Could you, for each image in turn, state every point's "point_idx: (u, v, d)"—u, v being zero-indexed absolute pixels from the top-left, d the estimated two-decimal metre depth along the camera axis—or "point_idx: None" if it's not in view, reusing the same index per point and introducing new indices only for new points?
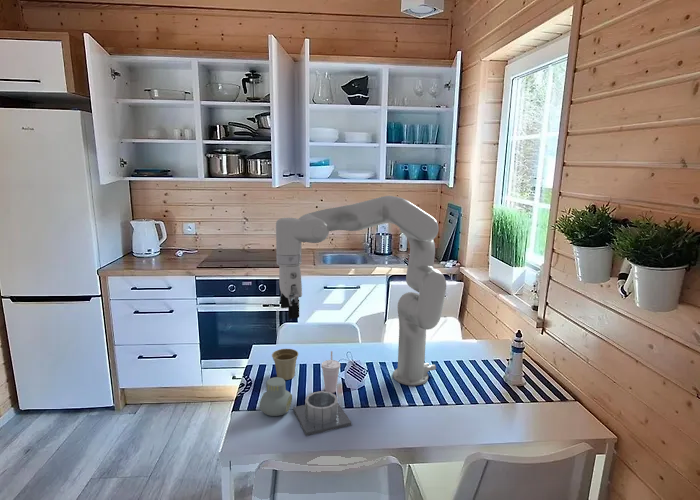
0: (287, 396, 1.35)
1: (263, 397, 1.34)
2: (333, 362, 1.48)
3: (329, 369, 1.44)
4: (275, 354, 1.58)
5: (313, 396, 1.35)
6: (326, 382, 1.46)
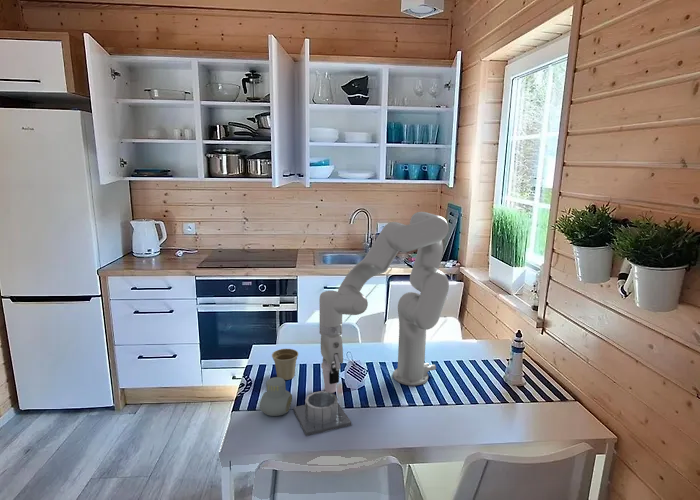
0: (287, 396, 1.35)
1: (263, 397, 1.34)
2: (333, 362, 1.48)
3: (329, 369, 1.44)
4: (275, 354, 1.58)
5: (313, 396, 1.35)
6: (326, 382, 1.46)
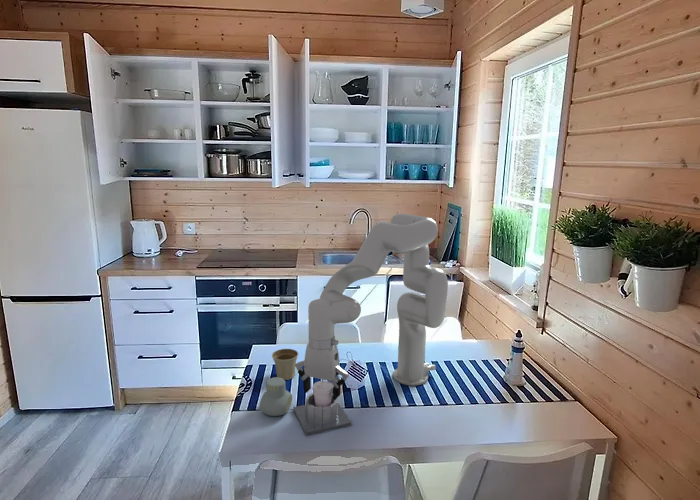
0: (287, 396, 1.35)
1: (263, 397, 1.34)
2: (323, 383, 1.32)
3: (329, 391, 1.29)
4: (275, 354, 1.58)
5: (313, 396, 1.35)
6: None
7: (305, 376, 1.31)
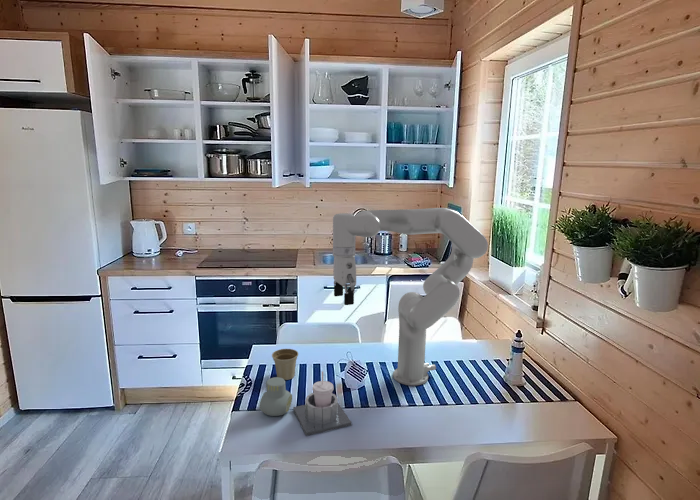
0: (287, 396, 1.35)
1: (263, 397, 1.34)
2: (323, 383, 1.32)
3: (329, 391, 1.29)
4: (275, 354, 1.58)
5: (313, 396, 1.35)
6: None
7: (335, 281, 1.51)
